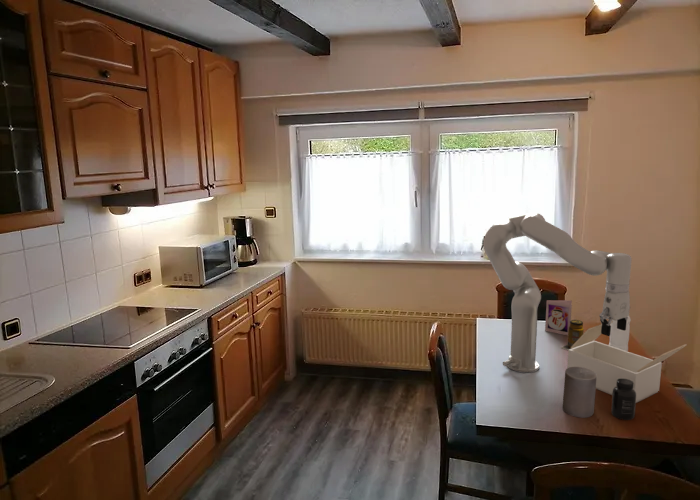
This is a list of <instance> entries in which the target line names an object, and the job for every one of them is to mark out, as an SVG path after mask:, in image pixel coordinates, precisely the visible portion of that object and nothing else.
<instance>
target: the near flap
mask: <svg viewBox="0 0 700 500" xmlns="http://www.w3.org/2000/svg"><path fill="white" fill-rule="evenodd" d="M687 346H688V345H687V343H685V344H682V345H680V346H677V347H676V348H673V349H671V350H668V351H667V352H664V353H662V354H660V355H659V356H657V357H655V358H654V359H652V360H653V361H651V362H650V363H648V364H647V365H645V366H644V367H642V368H641V369H639V370H638V371H637V372H640V371H642V370H644V369H646V368H649V367H651V366H653V365H655V364H657V363H660V362H661V363H662V362H664V361H666V359H668V358H669V357H671V356H673V355H674V354H676V353H677V352H679V351H680V350H682V349H683V348H685V347H687Z"/></svg>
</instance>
